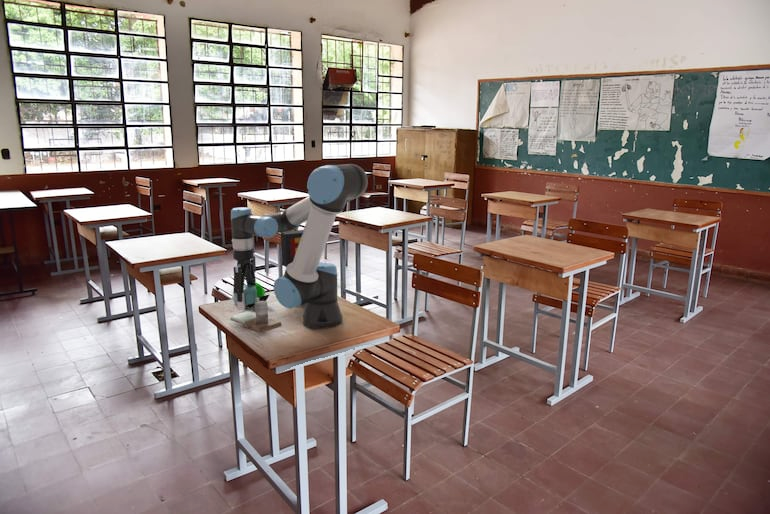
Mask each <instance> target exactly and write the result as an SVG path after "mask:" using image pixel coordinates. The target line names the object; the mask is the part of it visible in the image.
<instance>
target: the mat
mask: <svg viewBox="0 0 770 514" xmlns="http://www.w3.org/2000/svg"><path fill="white" fill-rule="evenodd" d="M229 317H230V320H232V321H236V322H238V323H240V324H243V323H245V322H248V321H251V320H254V319H256V312H255V311H252V310H247V311H244V312H241V313H237V314H234V315H231V316H229Z"/></svg>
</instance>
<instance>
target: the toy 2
mask: <svg viewBox="0 0 770 514" xmlns="http://www.w3.org/2000/svg"><path fill="white" fill-rule="evenodd" d="M303 231H304V229H299V230H297V229H296V230H291V231H285V232H280V246H281V247H280V251H281V265H282V266H283V267H285V268H286V267H287V265H288V264H290V263H293V260H294V257H295V255H296V252H297V249H298V246H299V243H300V240H301V237H302V234H303Z"/></svg>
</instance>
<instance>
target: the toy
mask: <svg viewBox="0 0 770 514" xmlns="http://www.w3.org/2000/svg"><path fill="white" fill-rule="evenodd" d="M255 283H256V285H253V286H255V287H256V290H257V298H259V301H266V302H267V299H268V298H269V296H270V295H271V294H270V293H269V294H266V290H265V289H264V287H262V285H261V284H260V283H258V282H257V281H256V282H255ZM256 302H258V301H256ZM251 306H253V307H255V303H253V304H248V305H245V309H248V308H247V307H249V308H252V307H251Z"/></svg>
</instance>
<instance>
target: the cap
mask: <svg viewBox="0 0 770 514" xmlns="http://www.w3.org/2000/svg"><path fill="white" fill-rule="evenodd" d="M243 293H244V299H245V306H247V305H248V304H253V303H255V302H256V301H259V298H257V290H256V287H255V286H251V285H245V284H244V288H243ZM231 300H233V304H236V305H237V293H234V291H232V297H231Z"/></svg>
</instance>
